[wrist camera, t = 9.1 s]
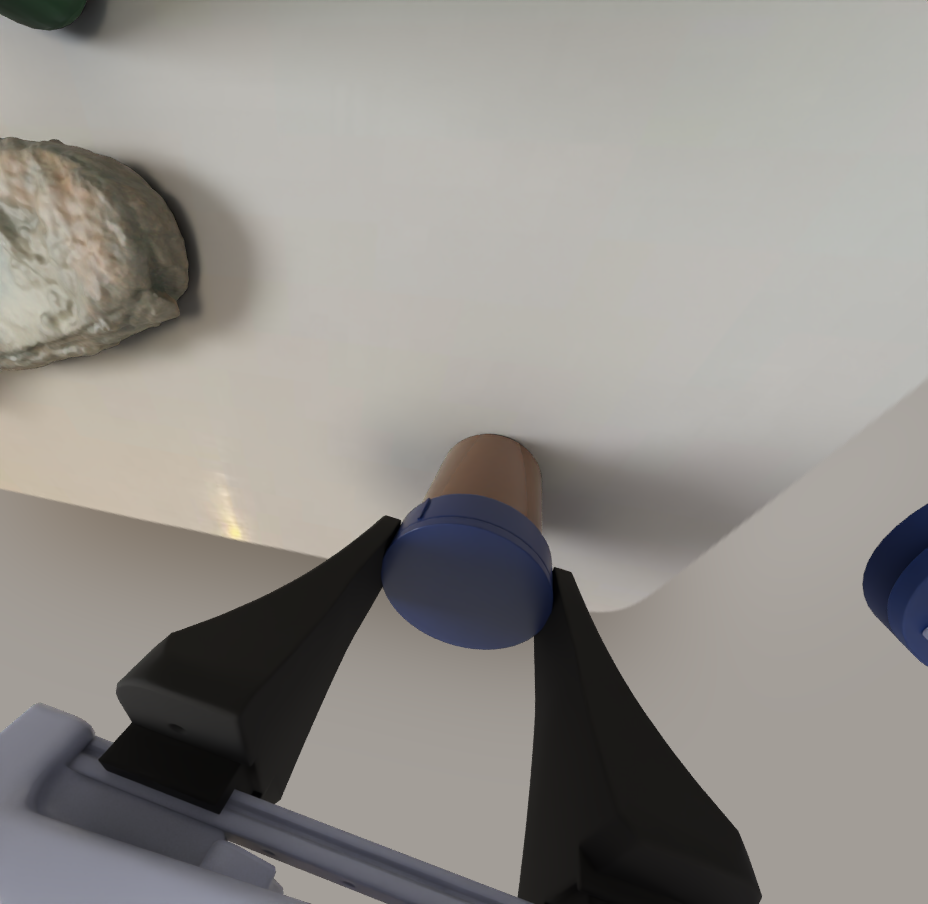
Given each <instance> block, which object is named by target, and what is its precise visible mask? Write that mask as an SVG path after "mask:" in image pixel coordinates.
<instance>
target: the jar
mask: <svg viewBox="0 0 928 904" xmlns="http://www.w3.org/2000/svg"><path fill="white" fill-rule="evenodd" d="M449 494H473V495H480V496H484V497H488V498H492V499H495V500H497V501H500V502H503V503H505V504H507V505H509V506H511V507H513V508H514V509H516V510H517V511H519V512H520V513H522V514H523V515H524V516H526V517H527V518H528V519H529V520H530V521H531V522H532V523H533V524H534V525H535V526H536V527H537V528H538V529H539V531H540V532H541V534H542V476H541V471H540V468H539V465H538V463H537V461H536V460H535V458H534V457H533V455H532V454H531V453H530V452H529V451H528V450H527V449H526V448H525V447H523V446H522V445H521V444H519V443H518V442H516V441H514V440H512V439H510V438H507V437H504V436H499V435H493V434H482V435H476V436H472V437H469V438H466V439H464V440H462V441H461V442H459V443H457V444H456V445H455V446H454V447H453V448H452V449H451V450H450V451H449V452H448V454H447V456H446V457H445V459H444V461H443V463H442V465H441V467H440V469H439V471H438V473H437V475H436V476H435V478H434V480H433V482H432V484H431V486H430V488H429V490H428V492H427V494H426V496H425V497H424V499H423V501H422V503H423V502H425V501H426V499H427V498H430V499H432V498H436V497H439V496H443V495H449Z"/></svg>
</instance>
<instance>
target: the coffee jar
mask: <svg viewBox="0 0 928 904" xmlns="http://www.w3.org/2000/svg"><path fill="white" fill-rule="evenodd" d="M86 1H87V0H0V14H1V15H3V16H5V17H7V18H9V19H11V20H13V21H15V22H17V23H20V24H23V25H25V26H28V27H31V28H34V29H41V30H54V29H59V28H63V27H65V26H67V25H70V24H71V23H72V22H73V21H74V20H75V19H76V18H78V17H79V16H80V15H81V12H82V10H83V8H84V6H85V4H86Z"/></svg>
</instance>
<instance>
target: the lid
mask: <svg viewBox="0 0 928 904" xmlns="http://www.w3.org/2000/svg"><path fill="white" fill-rule="evenodd" d="M381 581H382V585H383V589H384V591H385V594H386V596H387V598H388V599H389V601H390V603H391V604H392V605H393V607H394V608H395V609H396V611H397V612H398V613H399V614H400V615H401V616H402V617H403V618H404V619H405V620H407V621H408V622H409V623H410V624H411V625H413V626H414V627H416V628H417V629H419V630H420V631H422V632H424V633H425V634H427V635H429V636H431V637H433V638H435V639H438V640H440V641H443V642H445V643H449V644H452V645H455V646H460V647H464V648H471V649H483V650H490V649H501V648H507V647H511V646H515V645H518V644H520V643H523V642H525V641H527V640H529V639H530V638H532V637H533V636H535V635H536V634H537V633H538V632H539V631H541V630H542V628H543V627H544V625H545V623H546V621H547V620H548V618H549V616H550V614H551V612H552V608H553V575H552V558H551V553H550V550H549V546H548V544H547V542H546V540H545V538H544V537H543V535H542V534H541V532H540V531H539V529H538V528H537V527H536V526H535V525H534V524H533V523H532V522H531V521H530V520H529V519H528V518H527V517H526V516H524V515H523V514H522V513H520V512H519V511H517V510H516V509H514V508H513V507H511V506H509V505H507V504H505V503H503V502H500V501H497V500H495V499H492V498H488V497H484V496H480V495H473V494H449V495H443V496H439V497H436V498H432V499H430V498H427V499H426V501H425V502H423V503H421V504H420V505H418V506H417V507H415V508H414V509H413V510H412V511H411V512H410V513H409V514H408V515H407V516H406V517H405V519H404V520H403V522H402V524H401V525H400V527H399V529H398V531H397V532H396V534H395V536H394V538H393V540H392V541H391V543H390V545H389V547H388V549H387V550H386V552H385V554H384V557H383V562H382V570H381Z"/></svg>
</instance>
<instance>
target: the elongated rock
mask: <svg viewBox="0 0 928 904" xmlns="http://www.w3.org/2000/svg"><path fill="white" fill-rule="evenodd" d="M184 243H185V241H184V239H183V237H182V236H181V234H180V231H179V228H178V226H177V223H176V221H175V219H174V215H173V213H172V212H171V211H170V210H169V208H168V207H167V205H166V203H165V201H164V200H163V198H162V197H161V196H160V195H159V194H158V193H157V192H156V191H155V190H153V189H151V187H150V185H149V184H148V183H147V182H146V181H145V180H144V179H143V178H142V177H141V176H140V175H139V174H137V173H136V172H134V171H133V170H132V169H131V168H129V167H128V166H126V165H124V164H121V163H119V162H118V161H116V160H115V159H113V158H110V157H107V156H102V155H99V154H95V153H93V152H91V151H89V150H86V149H83V148H79V147H75V146H67V145H65V144H63V143H62V142H60V141H59V140H55V139H52V140H49V141H41V142H35V141H27V140H22V139H18V138H14V137H7V138H4V139H3V138H0V370H12V369H13V370H25V369H32V368H38V367H42V366H45V365H48V364H49V363H51V362H54V361H59V360H64V359H66V358H69V357H79V356H84V355H87V356H91V355H95V354H97V353H99V352H100V351H101V350H103V349H106V348H111V347H113V346H116V345H119V344H120V341H121V340H124V339H126V338H128V337H129V336H131V335H133V334H136V333H139V332H141V331H144V330H145V329H147V328H150V327H158V326H159V325H160V322H163V321H166V320H170V319H173V318H177V317H179V315H180V311H179V308H178V305H177V300H178V298H179V297H180V296H182V295H183V294H184V292H185V290H186V289H187V288H188V281H189V276H188V266H189V263H188V259H187V256H186V250H185V245H184Z"/></svg>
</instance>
